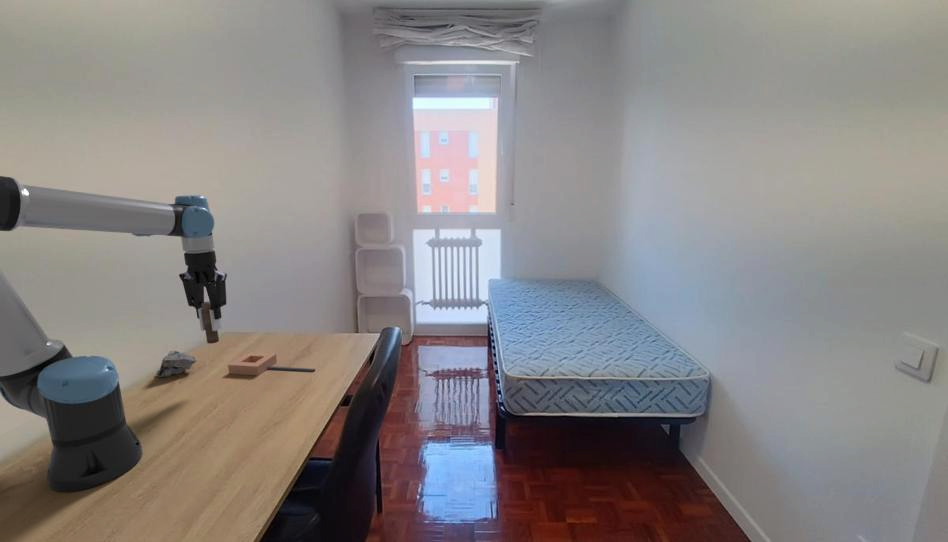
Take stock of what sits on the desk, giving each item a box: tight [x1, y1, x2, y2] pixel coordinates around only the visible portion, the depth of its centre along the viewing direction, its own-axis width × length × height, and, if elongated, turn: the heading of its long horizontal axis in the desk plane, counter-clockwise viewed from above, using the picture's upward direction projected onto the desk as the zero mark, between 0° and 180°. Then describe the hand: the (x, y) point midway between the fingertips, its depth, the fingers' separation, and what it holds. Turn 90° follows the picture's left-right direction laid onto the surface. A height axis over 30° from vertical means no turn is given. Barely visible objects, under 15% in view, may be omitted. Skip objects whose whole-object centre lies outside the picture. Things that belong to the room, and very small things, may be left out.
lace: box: [267, 365, 316, 373], centre depth 138 cm, size 1×16×1 cm, turn 83°
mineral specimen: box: [155, 350, 198, 378], centre depth 135 cm, size 10×8×10 cm
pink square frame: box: [227, 351, 278, 376], centre depth 139 cm, size 10×10×3 cm
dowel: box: [201, 301, 220, 345], centre depth 125 cm, size 3×3×12 cm
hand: (211, 329), depth 126 cm, fingers closed on dowel, 3 cm apart
